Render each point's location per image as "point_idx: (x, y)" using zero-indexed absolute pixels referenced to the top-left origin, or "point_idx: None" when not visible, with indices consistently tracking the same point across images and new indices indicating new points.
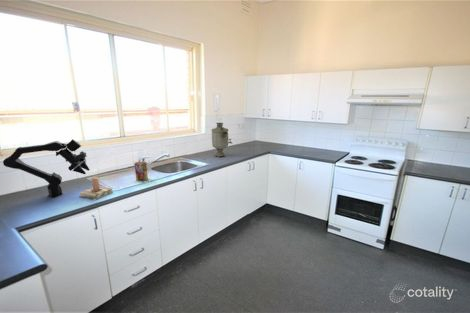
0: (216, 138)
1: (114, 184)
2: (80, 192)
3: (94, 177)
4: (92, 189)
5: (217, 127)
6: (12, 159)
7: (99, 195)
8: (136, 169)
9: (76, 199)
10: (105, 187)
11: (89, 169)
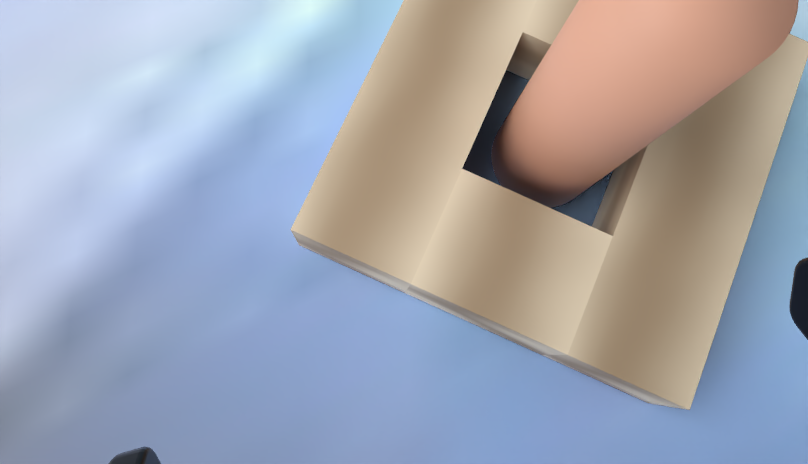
0: None
1: (37, 64)
2: (690, 398)
3: (639, 28)
4: (530, 233)
5: None
6: None
7: None
8: None
9: (784, 391)
10: (414, 28)
11: (136, 452)
